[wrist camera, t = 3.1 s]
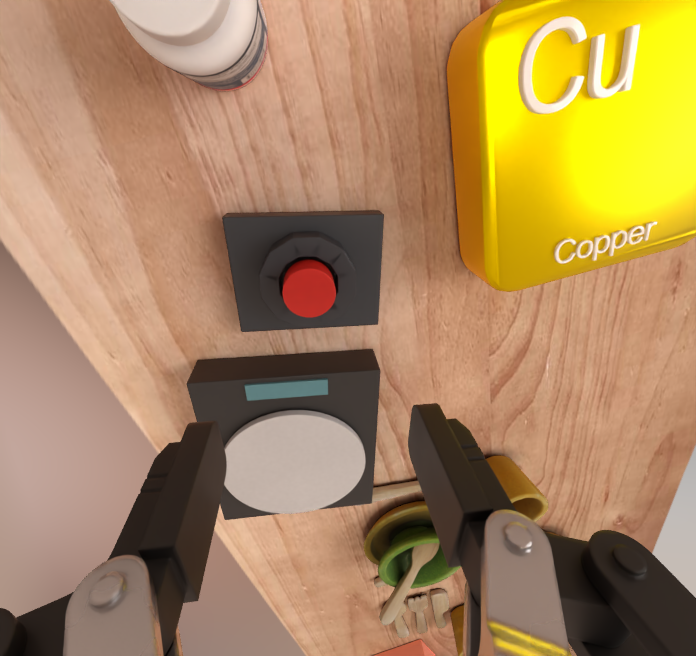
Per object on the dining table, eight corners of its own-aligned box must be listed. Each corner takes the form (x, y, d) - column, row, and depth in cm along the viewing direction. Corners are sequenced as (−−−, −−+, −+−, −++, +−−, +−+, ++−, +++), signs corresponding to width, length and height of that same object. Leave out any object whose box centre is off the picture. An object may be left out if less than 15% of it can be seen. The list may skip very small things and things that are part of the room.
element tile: (460, 278, 26) (490, 304, 22) (440, 28, 19) (481, -4, 14) (650, 225, 26) (717, 242, 22) (707, -47, 18) (826, -102, 14)
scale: (230, 491, 34) (222, 528, 31) (197, 360, 27) (182, 390, 23) (367, 477, 36) (373, 511, 32) (373, 348, 28) (382, 376, 25)
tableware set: (341, 483, 36) (349, 545, 30) (595, 422, 36) (649, 472, 31) (391, 638, 56) (401, 693, 51) (554, 598, 56) (581, 648, 51)
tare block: (244, 323, 26) (237, 344, 23) (226, 212, 22) (216, 222, 19) (374, 316, 27) (382, 335, 24) (379, 210, 23) (389, 219, 20)
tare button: (285, 307, 22) (284, 319, 21) (281, 260, 21) (280, 269, 19) (333, 304, 23) (336, 316, 21) (333, 258, 21) (335, 267, 20)
